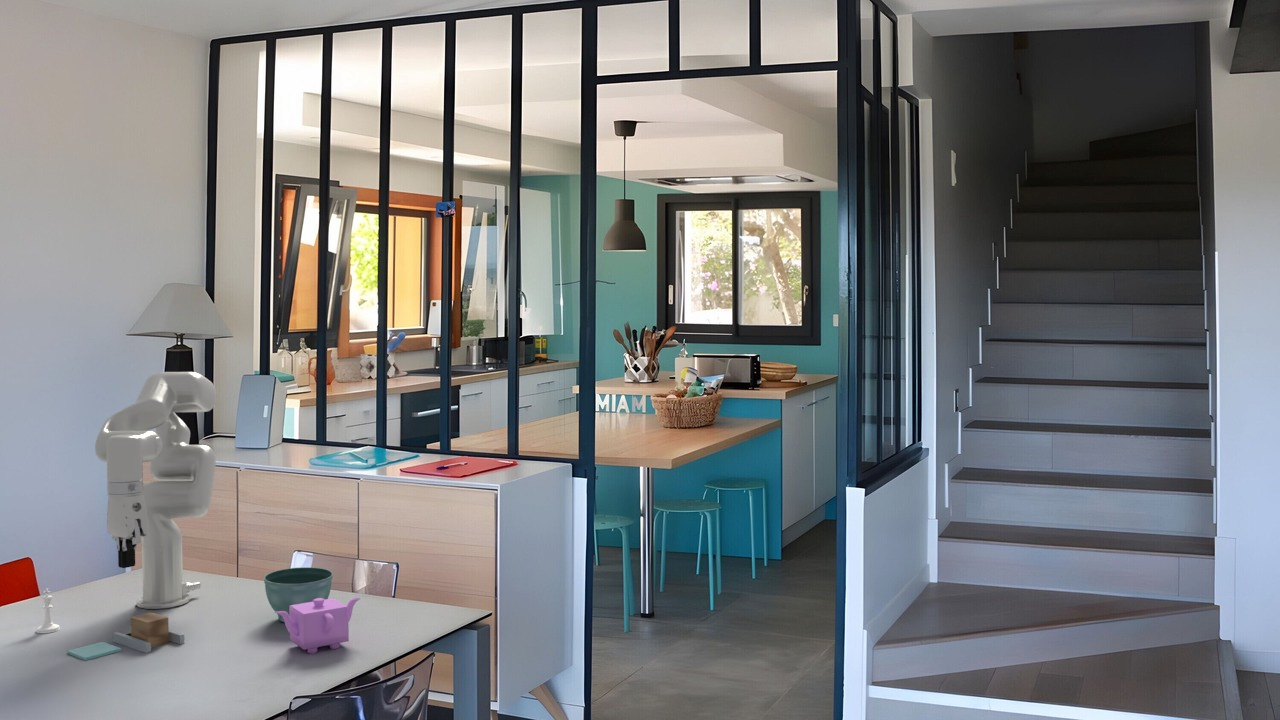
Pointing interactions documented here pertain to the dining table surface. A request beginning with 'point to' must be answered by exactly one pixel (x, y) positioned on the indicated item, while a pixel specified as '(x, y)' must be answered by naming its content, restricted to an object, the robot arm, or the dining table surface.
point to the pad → (93, 651)
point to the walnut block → (150, 628)
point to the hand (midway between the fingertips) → (126, 566)
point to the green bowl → (296, 587)
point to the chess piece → (47, 616)
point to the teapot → (319, 623)
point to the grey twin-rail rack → (143, 645)
